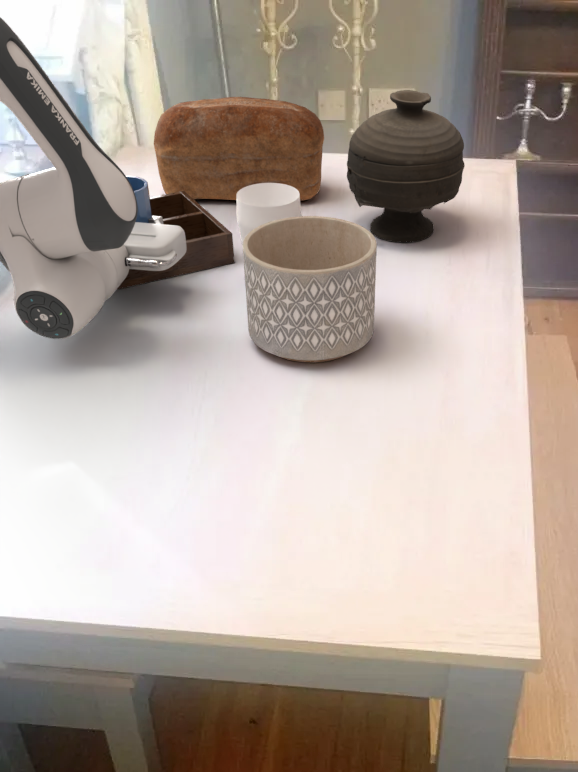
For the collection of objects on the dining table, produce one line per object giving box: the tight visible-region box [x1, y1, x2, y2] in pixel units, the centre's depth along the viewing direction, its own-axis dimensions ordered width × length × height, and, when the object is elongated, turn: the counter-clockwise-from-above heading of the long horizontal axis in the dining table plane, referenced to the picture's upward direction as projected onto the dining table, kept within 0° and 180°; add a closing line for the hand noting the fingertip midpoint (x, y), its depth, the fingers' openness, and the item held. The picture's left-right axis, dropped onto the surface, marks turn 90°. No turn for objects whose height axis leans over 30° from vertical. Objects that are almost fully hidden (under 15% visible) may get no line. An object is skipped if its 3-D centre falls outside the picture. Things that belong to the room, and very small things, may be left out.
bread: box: [153, 96, 325, 202], centre depth 149 cm, size 12×28×14 cm, turn 88°
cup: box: [235, 183, 303, 247], centre depth 127 cm, size 9×9×12 cm
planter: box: [242, 215, 378, 363], centre depth 114 cm, size 16×16×13 cm
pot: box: [346, 89, 465, 244], centre depth 137 cm, size 18×18×20 cm
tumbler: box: [125, 175, 152, 223], centre depth 128 cm, size 7×7×11 cm
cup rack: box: [116, 191, 236, 291], centre depth 136 cm, size 19×19×4 cm
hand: (130, 218), depth 129 cm, fingers closed on tumbler, 7 cm apart
